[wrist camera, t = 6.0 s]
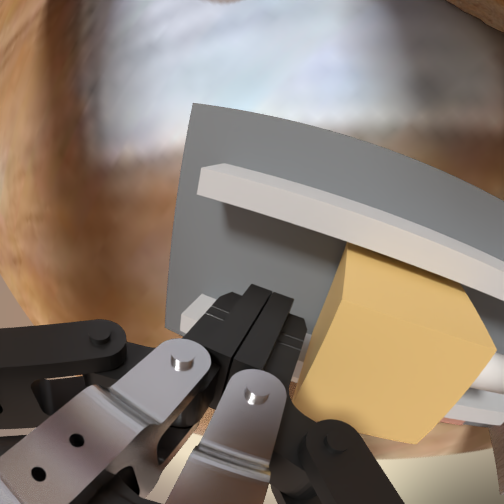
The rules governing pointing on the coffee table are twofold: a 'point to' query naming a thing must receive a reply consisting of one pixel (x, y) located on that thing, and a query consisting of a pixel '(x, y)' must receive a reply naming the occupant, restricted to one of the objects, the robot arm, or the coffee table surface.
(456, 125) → the coffee table surface
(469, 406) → the base
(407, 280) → the gauge carriage
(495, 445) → the grey end plate
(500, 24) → the brown clay boot
